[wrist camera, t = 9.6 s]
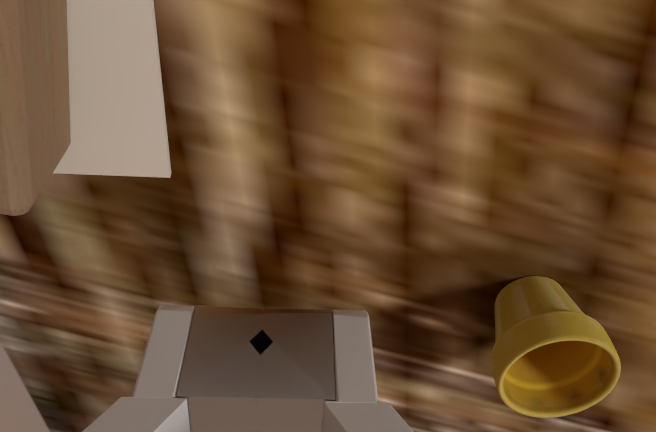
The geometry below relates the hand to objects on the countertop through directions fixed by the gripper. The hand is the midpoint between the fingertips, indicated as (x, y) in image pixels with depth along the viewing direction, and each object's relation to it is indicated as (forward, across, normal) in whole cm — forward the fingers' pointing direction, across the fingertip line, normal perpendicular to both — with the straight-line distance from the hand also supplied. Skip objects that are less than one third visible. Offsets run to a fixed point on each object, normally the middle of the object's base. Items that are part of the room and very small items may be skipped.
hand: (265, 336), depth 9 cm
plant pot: (+37, -23, +34) cm, 56 cm away
